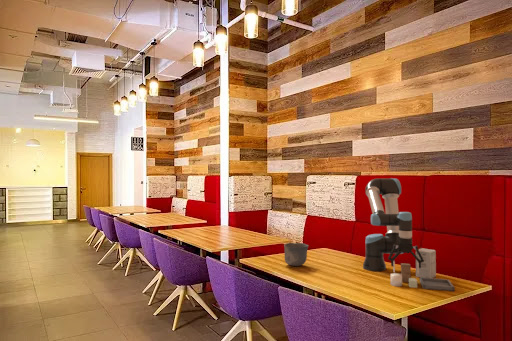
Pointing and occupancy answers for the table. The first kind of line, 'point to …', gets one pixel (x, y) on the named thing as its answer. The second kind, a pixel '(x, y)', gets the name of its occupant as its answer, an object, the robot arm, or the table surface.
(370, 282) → the table surface
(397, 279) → the glossy white capsule
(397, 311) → the table surface
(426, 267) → the supplement box
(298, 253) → the bowl
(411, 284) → the cream box
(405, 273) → the walnut block
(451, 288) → the tray
